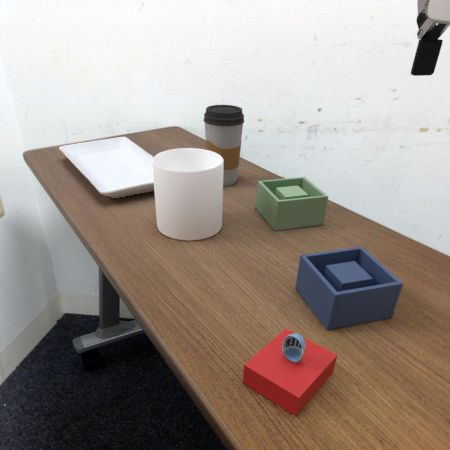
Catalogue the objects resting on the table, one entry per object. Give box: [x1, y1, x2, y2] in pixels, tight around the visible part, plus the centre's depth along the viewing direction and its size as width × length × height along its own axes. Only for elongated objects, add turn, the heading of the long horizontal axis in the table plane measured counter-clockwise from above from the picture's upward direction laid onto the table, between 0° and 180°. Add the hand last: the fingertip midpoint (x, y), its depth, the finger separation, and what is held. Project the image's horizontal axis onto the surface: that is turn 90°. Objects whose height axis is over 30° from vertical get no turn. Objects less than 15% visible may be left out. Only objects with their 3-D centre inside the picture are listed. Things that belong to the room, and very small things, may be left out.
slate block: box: [324, 261, 373, 292], centre depth 58 cm, size 4×4×4 cm
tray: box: [58, 136, 154, 199], centre depth 95 cm, size 17×32×4 cm, turn 31°
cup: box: [152, 147, 224, 242], centre depth 73 cm, size 12×12×12 cm
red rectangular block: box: [242, 328, 338, 417], centre depth 46 cm, size 8×7×6 cm
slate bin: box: [295, 246, 404, 331], centre depth 58 cm, size 10×10×6 cm
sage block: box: [275, 186, 308, 200], centre depth 79 cm, size 4×4×4 cm
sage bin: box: [255, 176, 329, 232], centre depth 79 cm, size 10×10×6 cm
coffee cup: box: [203, 104, 245, 187], centre depth 90 cm, size 8×8×15 cm
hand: (447, 82), depth 52 cm, fingers open, 9 cm apart
